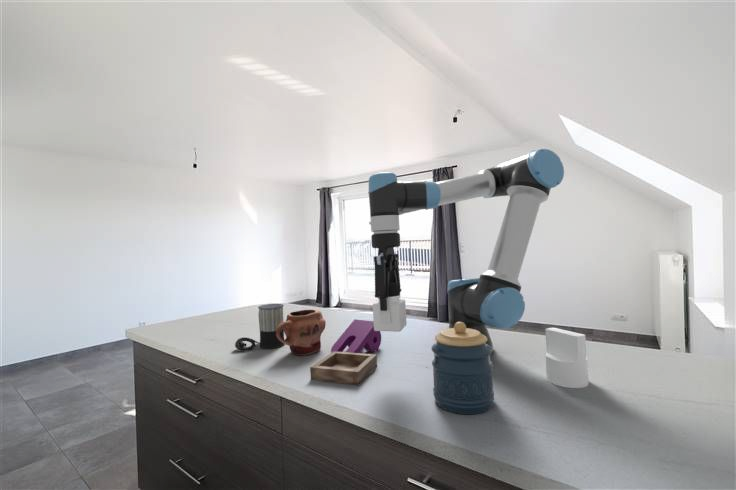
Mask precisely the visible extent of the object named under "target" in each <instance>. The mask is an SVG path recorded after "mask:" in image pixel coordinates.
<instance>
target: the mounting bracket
mask: <svg viewBox="0 0 736 490" xmlns="http://www.w3.org/2000/svg"><path fill="white" fill-rule="evenodd" d="M381 332H382V331H374V321H373V320H365V319H364V320H363V319H354V320H353V321H352V322H351V323H350V324H349V326H348V327H347V328H346V329H345V330H344V332H343V333H341V335H340V336H339V337H338V338H337V340H336V341H335V342H334V344H333V345H332V346H331V348H330V349H331V350H330V352H331V353H332V352H333V351H336V352H349V353H361V352H362V350H363V349H364V350H365V351H366V352H371V351H372V353H374V352H376V351H378V350H379V348H380V346H381V344H382V334H381ZM347 347H348V348H347ZM346 348H347V349H346ZM344 350H345V351H344ZM331 353H330V354H331Z"/></svg>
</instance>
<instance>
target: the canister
mask: <svg viewBox="0 0 736 490" xmlns="http://www.w3.org/2000/svg"><path fill="white" fill-rule="evenodd" d="M448 328H449V327H448ZM448 328H445V329H442V330H441V331H440V332H439V333H437V334H436V335H434V340H435V341H436V342H435V343H433V344H432V345H431V351H432V352H433V355H434V356H433V359H432V361H431V365H432V371H433V373H432V375H433V388H432V389H433V390H432V391H433V397H434V401H435V403H436V404H437V405H438V406H439V407H440V408H442V409H444V410H445V411H448V412H450V413H455V414H461V415H478V414H482V413H486V412H488V411H490V410H491V409H492V408H493V406H494V401H495V392H494V383H493V380H494V379H493V367H494V365H493V362H492V361H491V354H493V353H492V352H493V351H492V348H491V347H490V346H489V345H487V344H486V342H487V337H486V336H485V335H483V334H481V333H480V332H479V331H477V330H474V329H469V328H466V325H465V324H464V323H463V322H456V323H455V325H454V328H449V329H448Z"/></svg>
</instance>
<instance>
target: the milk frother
mask: <svg viewBox="0 0 736 490" xmlns="http://www.w3.org/2000/svg"><path fill="white" fill-rule="evenodd" d="M257 309H258V324H259V325H258V327H259V342H258V341H256V340H255V339H253V338H250V337H240V338H238V339H237V340H236V341H235V343H234V347H235V348H236V350H240V351H244V352H245V351H250V350H254V348H255V347H256V344H259V348H261V349H263V350H264V349H268V350H269V349H277V348H281V347H283V346H285V345H286V344H284V343H282V342H281V341H280V340H279V339H278V338H277V336H276V329H277V327H278V325H279V324H281V323H282V322H284V304H281V303H267V304H262V305H258V307H257ZM280 336H281V338H282V339H283V340H285V333H284V328H283V329H282V330H281V332H280ZM245 342H248V343H251V345H249V346H247V343H245Z"/></svg>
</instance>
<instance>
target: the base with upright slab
mask: <svg viewBox="0 0 736 490" xmlns="http://www.w3.org/2000/svg"><path fill="white" fill-rule="evenodd" d="M544 331H545V346H546V349H545V351H546V352H545V354H544V355H545V357H544V358H545V377H546V380H547V381H548V382H549V383H551V384H553V385H556V386H559V387H563V388H569V389H570V388H571V389H581V388H586V387H588V386H589V369H588V368H589V366H588V365H589V364H588V357H587V344H586V343H587V341H586V340H587V339H586V334H583V333H579V332H574V331H571V330H566V329H562V328H558V327H548V328H547V327H546V328H545V330H544Z"/></svg>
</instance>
